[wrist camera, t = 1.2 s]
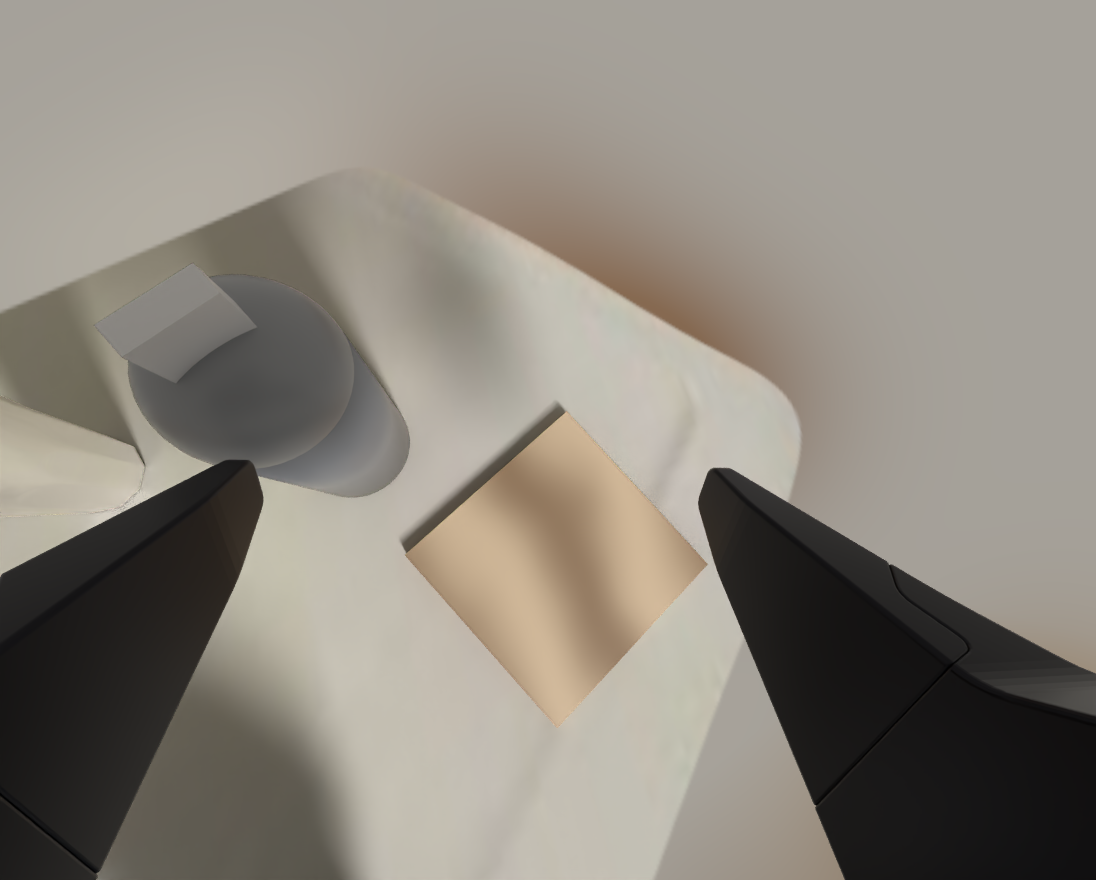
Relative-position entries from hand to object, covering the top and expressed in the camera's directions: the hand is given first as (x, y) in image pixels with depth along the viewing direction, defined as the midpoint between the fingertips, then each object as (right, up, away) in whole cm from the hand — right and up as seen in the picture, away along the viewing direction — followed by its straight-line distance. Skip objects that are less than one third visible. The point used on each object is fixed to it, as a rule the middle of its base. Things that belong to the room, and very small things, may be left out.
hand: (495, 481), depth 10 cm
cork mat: (+2, -5, +13) cm, 14 cm away
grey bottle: (-8, +1, +13) cm, 15 cm away
